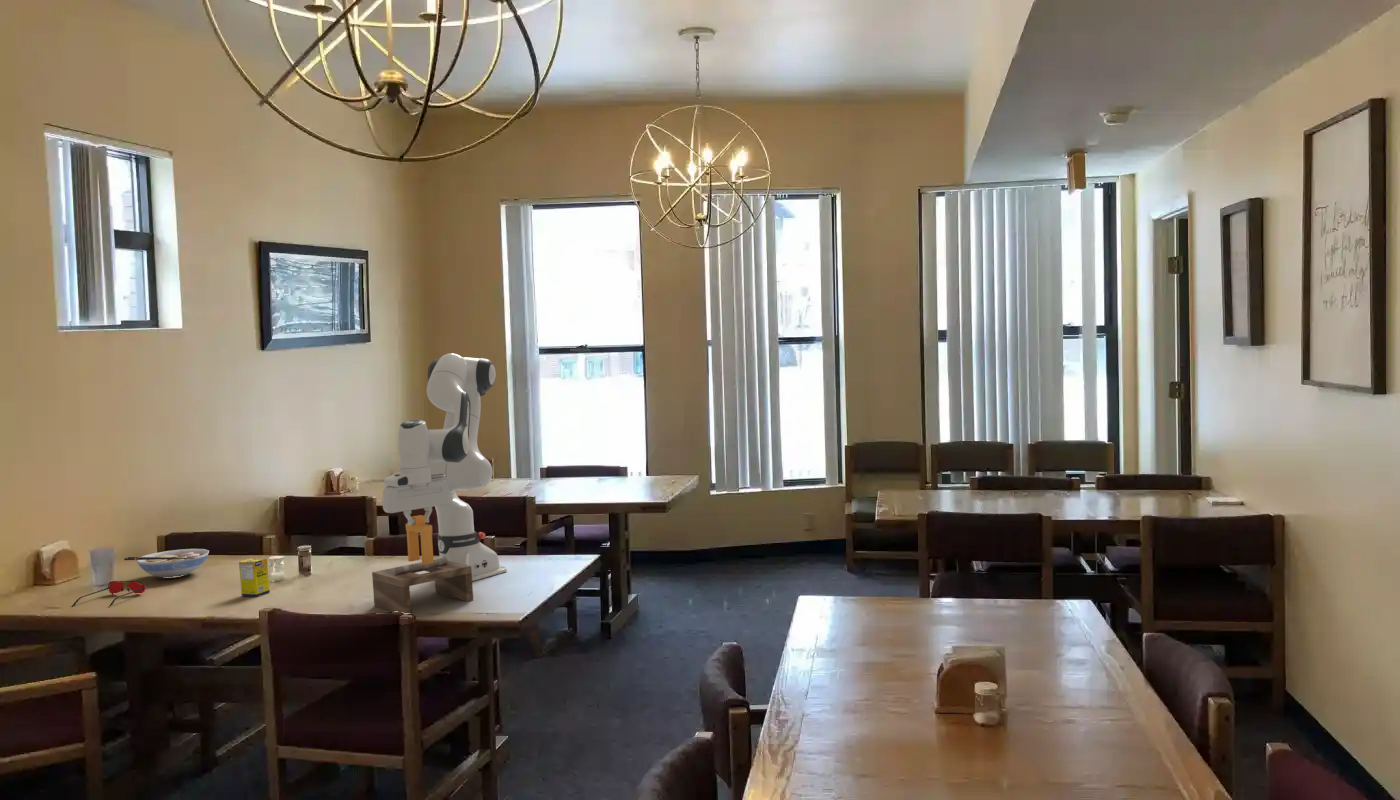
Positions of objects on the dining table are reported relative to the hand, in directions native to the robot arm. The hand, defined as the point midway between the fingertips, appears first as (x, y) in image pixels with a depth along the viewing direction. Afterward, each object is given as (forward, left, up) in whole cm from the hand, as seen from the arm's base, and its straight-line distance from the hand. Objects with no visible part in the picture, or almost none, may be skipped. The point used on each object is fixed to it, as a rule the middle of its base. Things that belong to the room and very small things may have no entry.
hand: (418, 524), depth 319 cm
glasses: (+60, -89, -24) cm, 110 cm away
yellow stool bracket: (0, 0, -11) cm, 11 cm away
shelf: (0, 0, -23) cm, 23 cm away
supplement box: (+27, -56, -23) cm, 66 cm away
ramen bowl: (+34, -109, -24) cm, 117 cm away
